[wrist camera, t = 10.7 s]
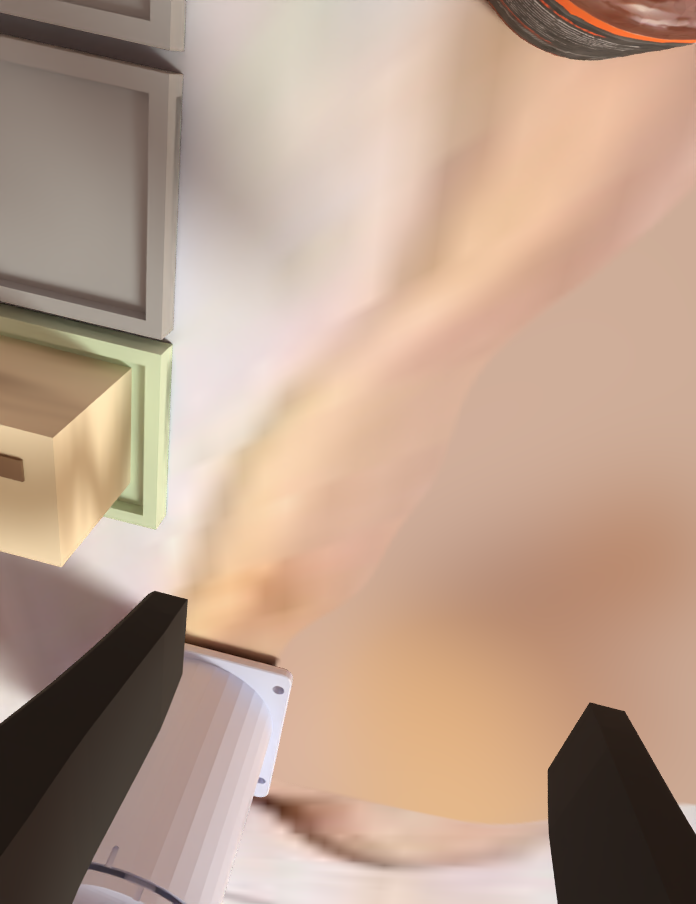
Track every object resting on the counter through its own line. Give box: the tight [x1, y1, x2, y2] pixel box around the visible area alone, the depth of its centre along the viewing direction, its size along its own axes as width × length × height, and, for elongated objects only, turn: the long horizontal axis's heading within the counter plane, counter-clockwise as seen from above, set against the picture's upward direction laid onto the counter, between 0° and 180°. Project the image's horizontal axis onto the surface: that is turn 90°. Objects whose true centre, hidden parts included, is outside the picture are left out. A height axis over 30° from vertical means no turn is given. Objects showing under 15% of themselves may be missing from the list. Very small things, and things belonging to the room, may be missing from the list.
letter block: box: [0, 335, 132, 567], centre depth 20 cm, size 5×5×5 cm
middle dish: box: [0, 33, 183, 340], centre depth 18 cm, size 7×7×1 cm
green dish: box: [0, 303, 173, 530], centre depth 22 cm, size 7×7×1 cm
